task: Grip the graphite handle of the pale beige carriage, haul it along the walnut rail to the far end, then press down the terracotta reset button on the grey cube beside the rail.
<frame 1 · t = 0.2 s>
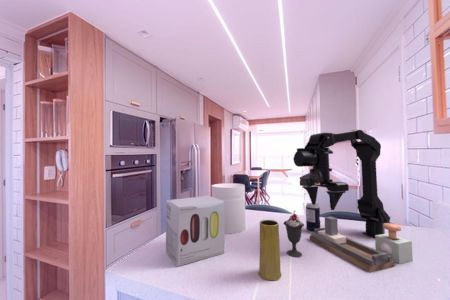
hand: (322, 207, 75), 14 cm above the countertop, tool pointing down, fingers open, 9 cm apart
vase: (270, 275, 55), on the countertop
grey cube: (393, 257, 64), on the countertop
reset button: (392, 232, 65), point 8 cm above the countertop, slide at 0.0 cm
canister: (228, 228, 94), on the countertop
supplement box: (195, 252, 69), on the countertop
sundae: (294, 254, 67), on the countertop
beverage can: (313, 231, 88), on the countertop
carriage: (331, 228, 75), point 6 cm above the countertop, slide at 0.0 cm
rail: (345, 251, 69), on the countertop
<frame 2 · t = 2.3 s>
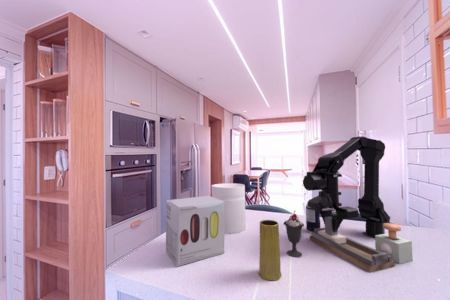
hand: (331, 230, 75), 5 cm above the countertop, tool pointing down, fingers closed on carriage, 3 cm apart
carriage: (331, 228, 75), point 6 cm above the countertop, slide at 0.0 cm, touching gripper
everything else where it was.
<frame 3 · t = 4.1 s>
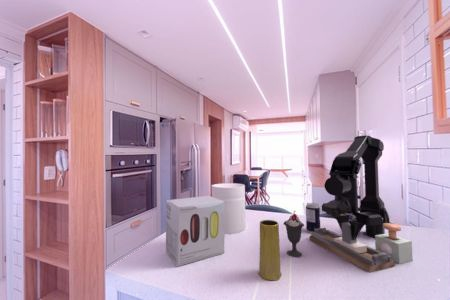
hand: (349, 238, 67), 5 cm above the countertop, tool pointing down, fingers closed on carriage, 3 cm apart
carriage: (349, 235, 67), point 6 cm above the countertop, slide at 7.6 cm, touching gripper
everything else where it was.
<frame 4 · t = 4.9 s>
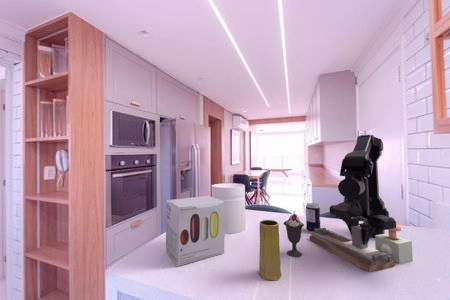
hand: (359, 242, 64), 5 cm above the countertop, tool pointing down, fingers closed on carriage, 3 cm apart
carriage: (359, 240, 64), point 6 cm above the countertop, slide at 11.3 cm, touching gripper
everything else where it was.
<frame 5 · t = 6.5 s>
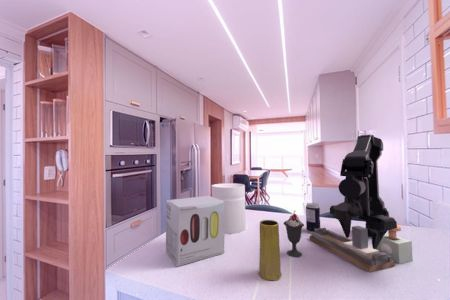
hand: (360, 242, 64), 5 cm above the countertop, tool pointing down, fingers open, 9 cm apart
carriage: (359, 240, 64), point 6 cm above the countertop, slide at 11.4 cm
everything else where it was.
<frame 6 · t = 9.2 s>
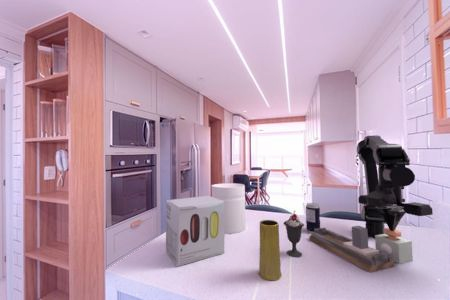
hand: (392, 230, 65), 8 cm above the countertop, tool pointing down, fingers closed, pressing on reset button
reset button: (392, 237, 65), point 6 cm above the countertop, slide at 1.7 cm, touching gripper
everything else where it was.
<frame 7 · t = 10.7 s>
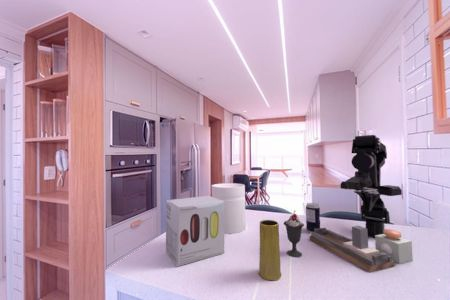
hand: (368, 211, 73), 13 cm above the countertop, tool pointing down, fingers closed
reset button: (392, 238, 65), point 6 cm above the countertop, slide at 2.1 cm
everything else where it was.
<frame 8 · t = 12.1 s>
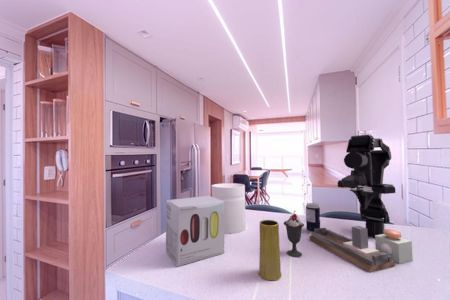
hand: (364, 209, 75), 13 cm above the countertop, tool pointing down, fingers closed
nothing on the countertop moved.
at the end: carriage slide at 11.4 cm; reset button slide at 2.1 cm; the gripper is holding nothing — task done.
